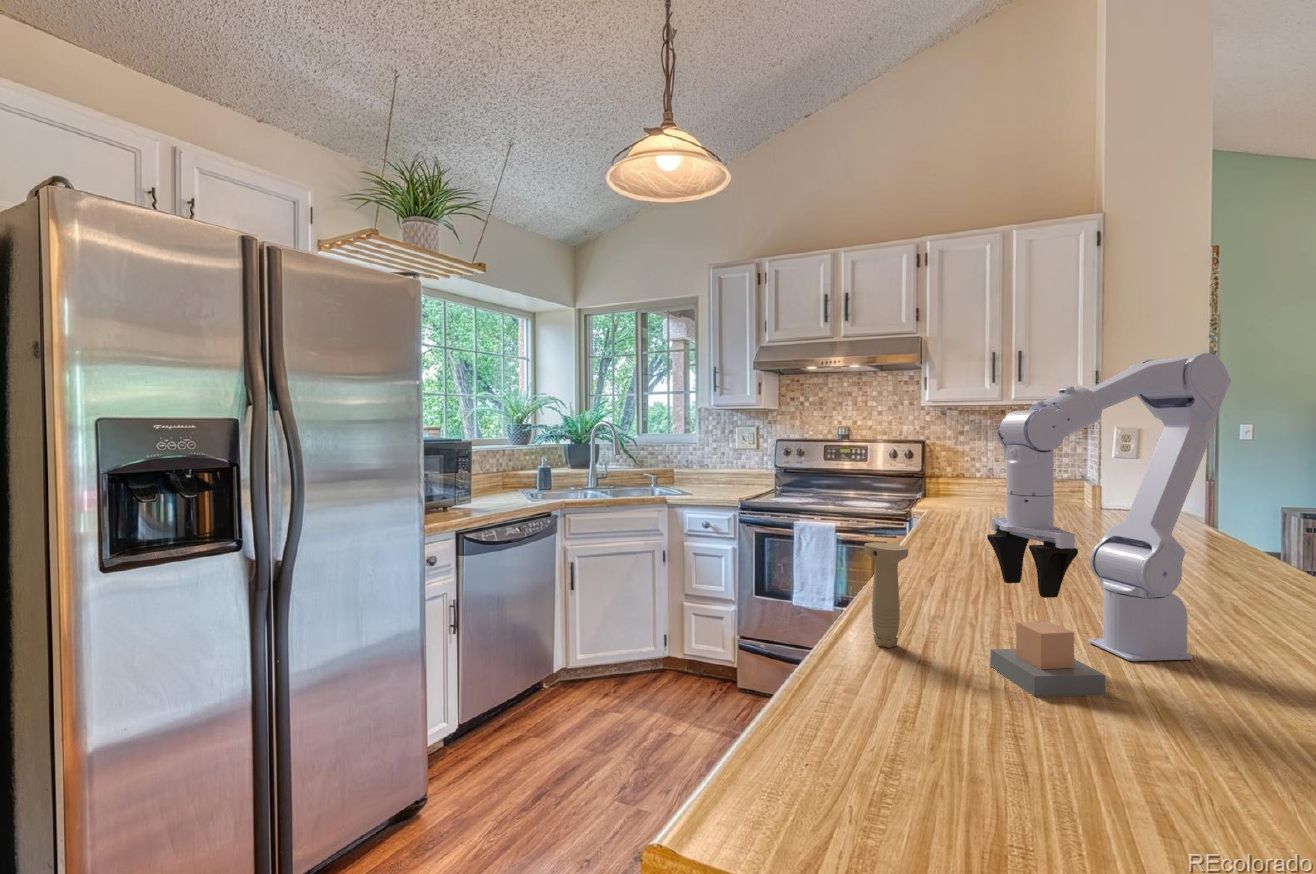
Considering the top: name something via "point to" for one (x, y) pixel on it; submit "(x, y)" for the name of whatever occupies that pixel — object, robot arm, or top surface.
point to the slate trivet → (1048, 676)
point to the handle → (885, 591)
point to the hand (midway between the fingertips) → (1029, 589)
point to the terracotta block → (1045, 645)
